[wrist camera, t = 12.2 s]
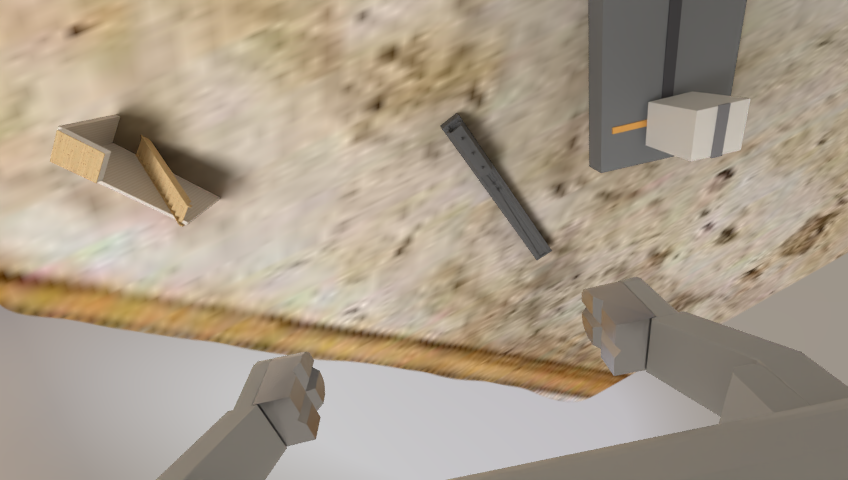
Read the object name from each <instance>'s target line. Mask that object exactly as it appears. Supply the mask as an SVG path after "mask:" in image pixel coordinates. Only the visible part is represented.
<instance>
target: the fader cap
mask: <svg viewBox="0 0 848 480" xmlns="http://www.w3.org/2000/svg"><path fill="white" fill-rule="evenodd" d="M750 99H751V98H743V97H735V96H727V95H719V94H710V93H702V92H694V91H692V92H688V93H684V94H680V95H676V96H671V97H667V98H663V99H659V100H655V101H650V102H648V115H647V130H646V146H649V147H652V148H655V149H657V150H660V151H663V152H665V153H668V154H671V155H674V156H676V157H679V158H682V159H685V160H687V161H690V162H691V161H695V160H700V159H704V158H708V157H710V158H714V157H719V156H722V154H726V153H730V152H735V151H739V150H741V146H742V140H743V135H744V130H745V125H746V120H747V115H748V109H749V104H750Z"/></svg>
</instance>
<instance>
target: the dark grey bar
mask: <svg viewBox="0 0 848 480" xmlns="http://www.w3.org/2000/svg"><path fill="white" fill-rule="evenodd" d="M441 128H442V130H443V131H444V132H445V133H446V135H447V136H448V138H449V139H450V140H451V142H452V143H453V144H454V146H455V147H456V149H457V150H458V151H459V153H460V154H461V156H462V157H463V158H464V160H465V161H466V163H467V164H468V165H469V167H470V168H471V169H472V171H473V172H474V174H475V175H476V176H477V178H478V179H479V181H480V182H481V183H482V185H483V186H484V188H485V189H486V190H487V192H488V193H489V194H490V196H491V197H492V199H493V200H494V201H495V203H496V204H497V206H498V207H499V208H500V210H501V211H502V213H503V214H504V215H505V217H506V218H507V219H508V221H509V222H510V224H511V225H512V226H513V228H514V229H515V231H516V232H517V233H518V235H519V236H520V238H521V239H522V240H523V242H524V243H525V244H526V246H527V247H528V249H529V250H530V251H531V253H532V254H533V256H534V257H535V259H536V260H538V259H540V258H541V257H543V256H545V255H546V254H548V253H549V252H551V251H552V250H551V249H550V247H549V246H548V244H547V243H546V242H545V240H544V239H543V237H542V236H541V234H540V233H539V231H538V230H537V228H536V227H535V225H534V224H533V223H532V221H531V220H530V218H529V217H528V215H527V214H526V212H525V211H524V209H523V208H522V206H521V205H520V204H519V202H518V201H517V199H516V198H515V196H514V195H513V193H512V192H511V190H510V189H509V188H508V186H507V185H506V183H505V182H504V180H503V179H502V177H501V176H500V174H499V173H498V171H497V170H496V169H495V167H494V166H493V164H492V163H491V161H490V160H489V158H488V157H487V155H486V154H485V152H484V151H483V150H482V148H481V147H480V145H479V144H478V142H477V141H476V139H475V138H474V136H473V135H472V133H471V132H470V131H469V129H468V128H467V126H466V125H465V123H464V122H463V120H462V119H461V117H460V116H459V115H458V114H457V113H456V114H455V115H453V116H452V117H451V118H450V119H448V120H447V121H446V122H445V123H443V124H442V125H441Z"/></svg>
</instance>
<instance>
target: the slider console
mask: <svg viewBox="0 0 848 480" xmlns="http://www.w3.org/2000/svg"><path fill="white" fill-rule="evenodd" d="M746 2H747V0H589V166H590V167H592V168H593V169H595V170H597V171H598V172H600V173H603V172H608V171H612V170H617V169H621V168H625V167H630V166H634V165H638V164H643V163H647V162H651V161H656V160H660V159H664V158H669V157H673V156H674V155H671V154H668V153H665V152H663V151H660V150H657V149H655V148H652V147H649V146H646V130H647V115H648V102H650V101H655V100H659V99H663V98H667V97H671V96H676V95H680V94H684V93H688V92H692V91H694V92H702V93H710V94H719V95H727V96H731V91H732V85H733V79H734V73H735V67H736V61H737V55H738V49H739V44H740V38H741V32H742V26H743V20H744V14H745V8H746Z"/></svg>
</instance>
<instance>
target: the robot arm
mask: <svg viewBox="0 0 848 480" xmlns="http://www.w3.org/2000/svg"><path fill="white" fill-rule="evenodd" d="M582 302H583V303H584V304H585V306H586V308H585V309H584V311H583V312H582V320H583V325H584V329H585V332H586V334H587V336H588V338H589V340H590V341H591V343H592V344H593V345H594V346H596V347H598V348H600V349H601V358H602V359H603V361H604V362H605V363H606V365H607V366H608V368H609V369H610V371H611V372H612V374H613V375H614V376H615V375H621V374H626V373H632V372H637V371H642V370H646V371H647V372H648V373H650V374H651V375H653V376H655V377H656V378H658V379H659V380H661V381H663V382H664V383H666V384H668V385H669V386H671V387H673V388H674V389H676V390H678V391H679V392H681V393H683V394H684V395H686V396H687V397H689V398H691V399H692V400H694V401H696V402H697V403H699V404H700V405H702V406H704V407H705V408H707V409H709V410H710V411H712V412H714V413H715V414H717V415H719V416H720V417H721V418H720V421H719V424H717V425H712V426H707V427H702V428H697V429H692V430H687V431H682V432H678V433H673V434H668V435H663V436H658V437H653V438H648V439H643V440H638V441H633V442H629V443H624V444H619V445H614V446H609V447H604V448H600V449H595V450H590V451H585V452H580V453H575V454H570V455H565V456H560V457H556V458H551V459H546V460H541V461H536V462H531V463H527V464H522V465H517V466H512V467H507V468H502V469H498V470H493V471H488V472H483V473H478V474H473V475H468V476H463V477H458V478H453V479H448V480H848V386H846V385H845V384H844V383H842V382H841V381H840V380H838V379H837V378H836V377H834V376H833V375H832V374H830V373H829V372H827V371H826V370H825V369H824V368H822V367H821V366H819V365H818V364H817V363H815V362H814V361H813V360H811V359H810V358H808V357H807V356H806V355H805V354H803V353H802V352H800V351H797V350H794V349H791V348H788V347H786V346H783V345H780V344H777V343H774V342H771V341H768V340H765V339H762V338H760V337H757V336H754V335H751V334H748V333H745V332H742V331H739V330H736V329H734V328H731V327H728V326H725V325H722V324H719V323H716V322H713V321H710V320H708V319H705V318H702V317H699V316H696V315H693V314H690V313H687V312H679V313H678V312H677V311H676V310H675V309H674V308H673V307H672V306H671V305H670V304H668V303H667V302H666V301H665V300H664V299H663V298H662V297H661V296H660V295H659V294H657V293H656V292H655V291H654V290H653V289H652V288H651V287H650V286H649V285H648V284H647V283H645V282H644V281H643V280H642V279H641V278H639V277H633V278H629V279H625V280H621V281H618V282H613V283H609V284H605V285H600V286H596V287H592V288H587V289H583V292H582ZM313 362H314V360H313V358H312V356H311V355H310V353H308V352H302V353H297V354H292V355H287V356H283V357H277V358H274V359H269V360H264V361H259V362H257V363H256V364H255V365H254V366H253V368H252V370H251V372H250V374H249V377H248V379H247V381H246V383H245V385H244V387H243V390H242V392H241V394H240V396H239V399H238V401H237V403H236V405H235V407H234V410H232V411H228V412H227V413H226V414H225V415H224V416H222V417H221V418H220V419H219V421H217V422H216V423H215V424H214V425H213V426H212V427H211V428H210V429H209V430H208V431H207V432H206V433H205V434H204V435H203V436H201V437H200V438H199V439H198V440H197V441H196V442H195V443H194V444H193V445H192V446H191V447H190V448H189V449H188V450H187V451H186V452H185V453H184V454H183V455H181V456H180V457H179V459H177V460H176V461H175V462H174V463H173V464H172V465H171V466H170V467H169V468H168V469H167V470H166V471H165V472H164V473H163V474H161V476H159V477H158V478H157V479H156V480H265V479H266V478H267V476H268V475H269V473H270V472H271V470H272V469H273V467H274V466H275V465H276V463H277V462H278V460H279V459H280V457H281V456H282V454H283V453H284V451H285V450H286V449H287V447H286V446H290V445H294V444H298V443H302V442H306V441H310V440H315V439H316V436H317V431H318V426H319V421H320V416H319V414H318V412H317V410H318V409H319V408H320V407H321V405H322V404H323V402H324V396H325V386H324V381H323V378H322V375H321V373H320V371H319V370H317V369H315V368H313V367H312V366H313Z"/></svg>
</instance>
